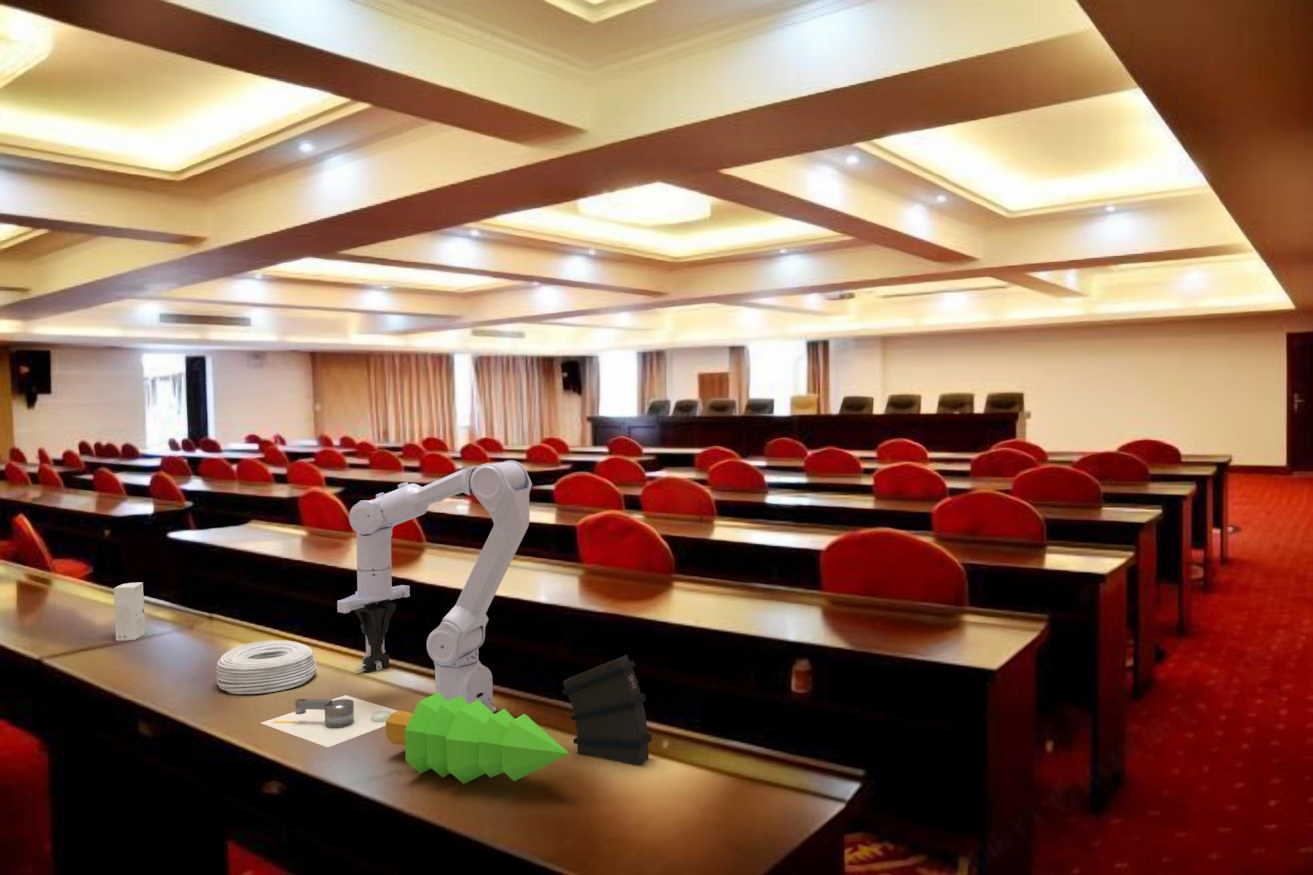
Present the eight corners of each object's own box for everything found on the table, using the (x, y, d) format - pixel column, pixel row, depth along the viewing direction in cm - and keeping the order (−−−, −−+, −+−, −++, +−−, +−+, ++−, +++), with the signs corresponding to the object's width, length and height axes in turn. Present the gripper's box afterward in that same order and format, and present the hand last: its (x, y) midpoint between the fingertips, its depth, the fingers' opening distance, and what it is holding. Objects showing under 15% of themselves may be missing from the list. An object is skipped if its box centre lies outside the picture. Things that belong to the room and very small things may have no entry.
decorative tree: (407, 671, 128) (578, 692, 115) (430, 731, 132) (598, 757, 119) (356, 723, 119) (535, 752, 105) (382, 786, 123) (558, 821, 110)
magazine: (659, 759, 121) (618, 659, 123) (587, 783, 126) (549, 687, 129) (670, 750, 124) (630, 653, 127) (600, 773, 130) (563, 679, 132)
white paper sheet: (413, 721, 141) (412, 710, 141) (327, 753, 128) (327, 741, 128) (345, 700, 151) (345, 690, 151) (260, 728, 138) (260, 717, 138)
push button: (363, 676, 165) (362, 625, 164) (350, 670, 168) (349, 620, 168) (394, 668, 169) (393, 619, 169) (381, 663, 173) (380, 614, 173)
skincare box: (136, 640, 192) (134, 586, 191) (114, 641, 191) (112, 587, 190) (146, 633, 198) (145, 581, 197) (124, 634, 197) (123, 582, 196)
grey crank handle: (358, 717, 139) (358, 696, 139) (346, 727, 135) (346, 706, 135) (303, 715, 140) (302, 695, 140) (289, 725, 136) (288, 704, 136)
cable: (259, 665, 173) (258, 636, 173) (336, 670, 169) (335, 640, 169) (195, 693, 156) (194, 661, 156) (278, 700, 152) (278, 667, 152)
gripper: (389, 559, 157) (390, 632, 157) (324, 573, 144) (325, 652, 145) (417, 562, 153) (418, 637, 154) (353, 576, 141) (354, 658, 141)
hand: (375, 645), depth 149 cm, fingers closed
